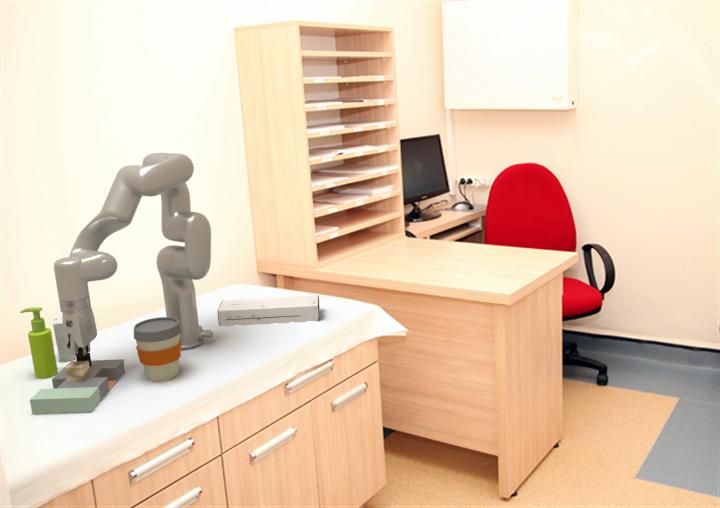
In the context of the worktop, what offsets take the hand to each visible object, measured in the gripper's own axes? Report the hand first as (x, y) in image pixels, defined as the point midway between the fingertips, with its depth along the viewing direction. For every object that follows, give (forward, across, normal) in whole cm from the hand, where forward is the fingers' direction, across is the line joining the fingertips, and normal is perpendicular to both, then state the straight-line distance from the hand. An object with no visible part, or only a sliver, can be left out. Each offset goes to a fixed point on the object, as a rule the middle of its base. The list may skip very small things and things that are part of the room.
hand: (84, 367), depth 179 cm
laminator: (+6, +51, -43) cm, 67 cm away
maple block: (+1, -4, 0) cm, 4 cm away
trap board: (+5, -4, 0) cm, 7 cm away
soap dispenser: (+6, +8, +16) cm, 19 cm away
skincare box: (+6, +20, +15) cm, 26 cm away
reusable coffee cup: (+6, +6, -19) cm, 21 cm away
